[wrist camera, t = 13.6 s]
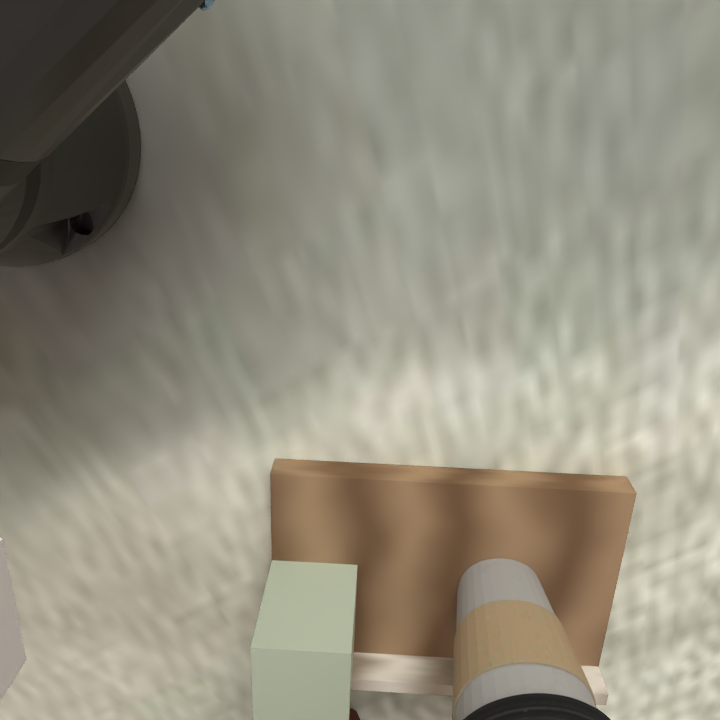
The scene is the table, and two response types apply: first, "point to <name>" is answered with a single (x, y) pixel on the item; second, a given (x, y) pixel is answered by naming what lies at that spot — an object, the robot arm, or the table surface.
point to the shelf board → (450, 553)
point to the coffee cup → (514, 651)
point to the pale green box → (304, 642)
